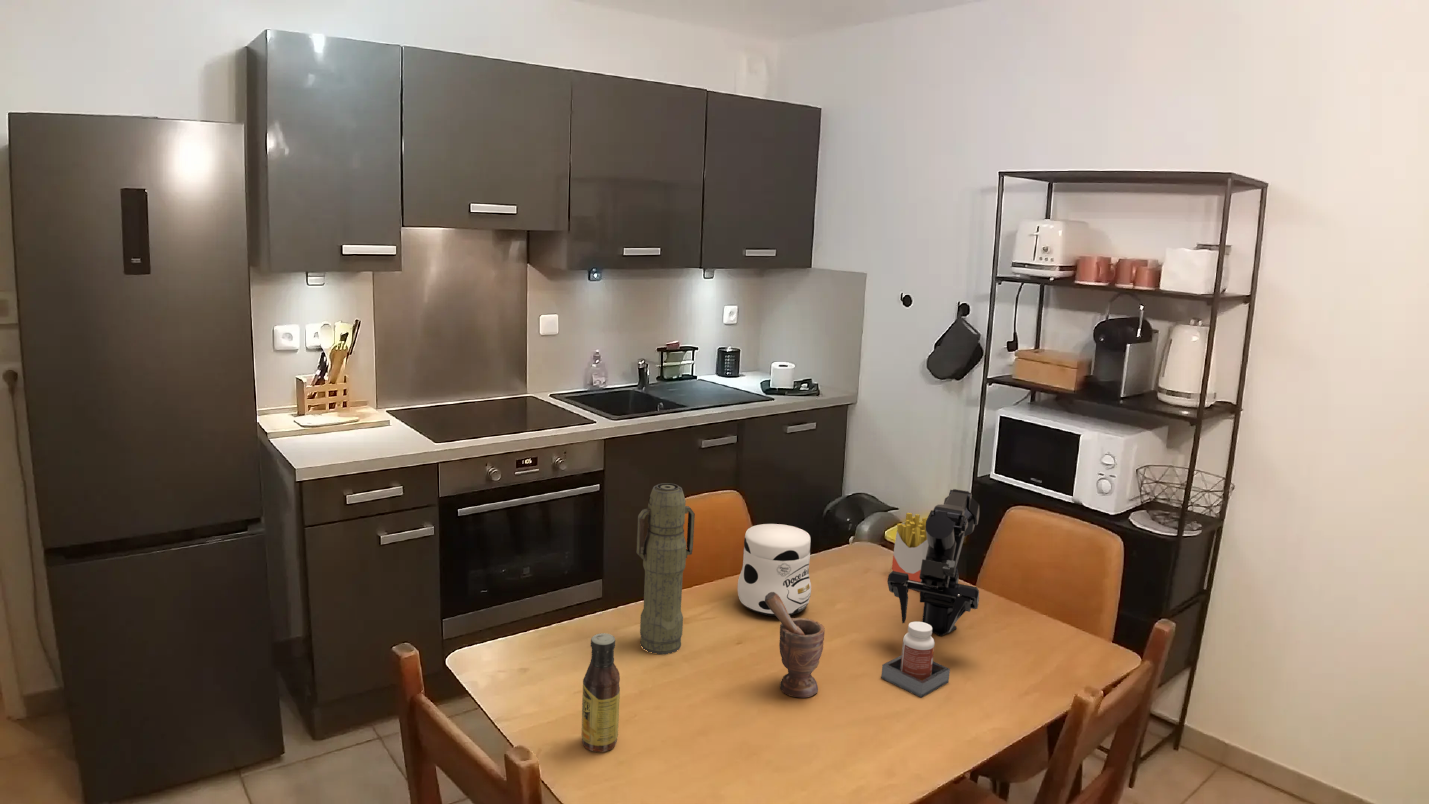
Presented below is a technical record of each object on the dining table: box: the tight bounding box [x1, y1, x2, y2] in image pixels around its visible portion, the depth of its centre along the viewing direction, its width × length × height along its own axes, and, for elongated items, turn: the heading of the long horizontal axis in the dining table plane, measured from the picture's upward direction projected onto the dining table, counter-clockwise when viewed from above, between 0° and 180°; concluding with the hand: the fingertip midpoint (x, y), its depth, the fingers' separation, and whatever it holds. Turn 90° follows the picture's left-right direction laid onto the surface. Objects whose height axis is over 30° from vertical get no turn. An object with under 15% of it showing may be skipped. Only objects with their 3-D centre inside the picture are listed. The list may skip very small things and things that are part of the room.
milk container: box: [737, 523, 812, 617], centre depth 212 cm, size 17×17×18 cm
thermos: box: [635, 482, 696, 655], centre depth 188 cm, size 9×12×35 cm
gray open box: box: [880, 654, 951, 698], centre depth 182 cm, size 10×10×3 cm
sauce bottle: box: [581, 632, 621, 753], centre depth 153 cm, size 7×6×20 cm
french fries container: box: [891, 512, 928, 582], centre depth 231 cm, size 5×11×18 cm, turn 29°
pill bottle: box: [900, 621, 935, 681], centre depth 181 cm, size 6×6×11 cm
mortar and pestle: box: [765, 592, 825, 698], centre depth 174 cm, size 12×9×20 cm
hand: (925, 627), depth 188 cm, fingers open, 9 cm apart
